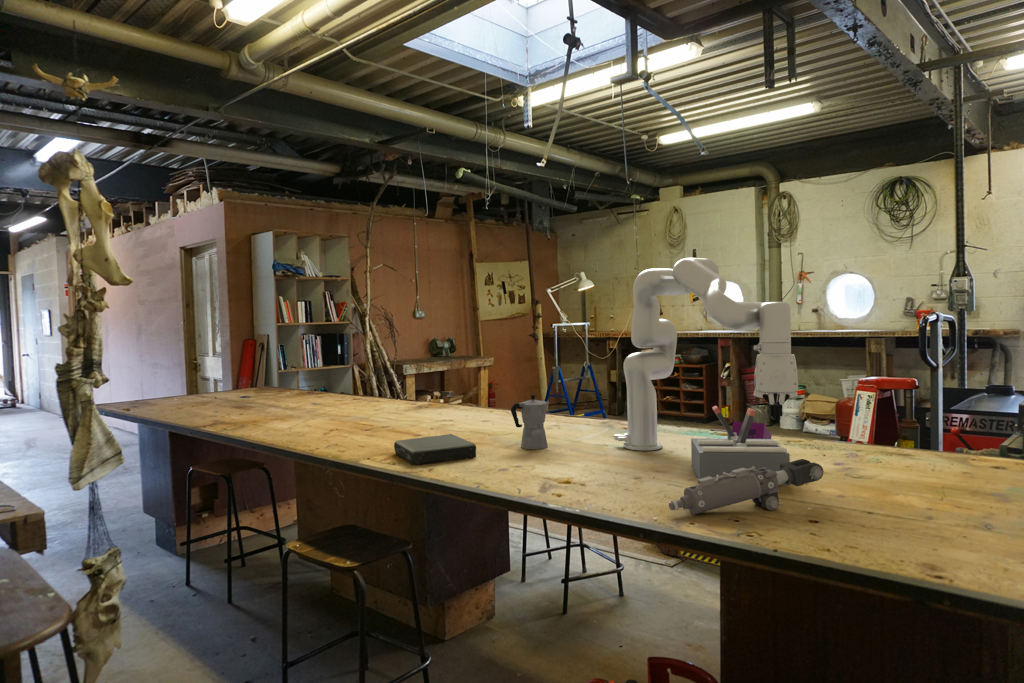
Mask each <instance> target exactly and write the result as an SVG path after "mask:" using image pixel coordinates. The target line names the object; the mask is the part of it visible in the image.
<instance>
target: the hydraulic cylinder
mask: <svg viewBox="0 0 1024 683" xmlns="http://www.w3.org/2000/svg"><path fill="white" fill-rule="evenodd" d="M755 469H756V468H755V467H754V466H752V468H748V469H747V468H746V469H745V468H740V469H736V470H733V471H731V473H729V474H727V473H725V472H723V475H721V476H719V475H716V477H710V476H709V477H706V478H702V479H698V478H697V480H696V483H697V485H693V486H689V487H685V488H684V490H683V496H680V498H679V500H675V499H673V500H671V501H670V502H668V509H669V510H670V511H674V512H675V511H679V509H681V508H682V509H683V510H684V511H685V510H688V511H689V512H690V513H691V514H692V515H698V514H702V513H706V512H708V511H712V510H716V509H720V508H724V507H727V506H728V507H729V506H731V505H734V504H738V503H741V502H742V503H743V502H746V501H749V500H751V501H752V502H753V503H754V504H756V505H757V506H762V508H764V509H765V510H768V511H775V509H777V508H778V507H779V506H783V504H782V503H781V500H780V499H779V493H780V491H781V490H780V487H779V486H781V485H780V484H782V483H784V484H787V485H786V486H789V485H788V484H790V485H793V486H795V487H800V486H805V485H806V484H810V483H813V482H814V483H815V482H817V481H820V480H821V479H822V478H823V476H824V472H825V470H824V468H823V466H822V465H821V464H819V463H817V462H811V461H810V460H808V459H804V458H800V459H796V460H793V461H790V462H788V463H783V464H780V470H779V471H774V472H773V471H772V470H767V469H766V467H764V468H760V469H757V470H755ZM752 470H753V471H752ZM722 478H723V479H722ZM718 479H719V480H718Z"/></svg>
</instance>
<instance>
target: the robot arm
mask: <svg viewBox="0 0 1024 683" xmlns="http://www.w3.org/2000/svg"><path fill="white" fill-rule="evenodd" d="M632 289H633V290H632V291H633V292H632V294H633V295H632V296H633V310H632V311H633V312H632V322H631V331H630V332H631V334H630V335H631V336H630V338H631V339H630V340H631V343H632V345H633V346H634V347H636V348H638V349H652V351H651V350H649V351H637V352H632V353H630V354H628V356H626V357H625V359H624V361H623V374H624V378H625V384H626V400H627V401H626V402H627V403H626V404H627V408H626V410H627V431H626V433H623V434H614V441H617V442H623V441H624V442H623V447H624V448H625V449H628V450H632V451H645V452H646V451H647V452H648V451H655V450H656V451H657V450H659V449H662V448H663V443H662V442H661V441H658V412H657V411H658V410H657V408H658V406H657V404H658V403H657V401H658V400H657V391H656V389H655V386H654V384H653V382H652V380H654V381H655V380H662V379H667V378H668V377H670V376H671V375H672V373H673V370H674V367H675V360H676V351H677V342H678V332H677V328H676V326H675V324H674V323H673V322H672V321H671V320H669V319H665V318H660V317H661V316H660V314H661V305H660V304H661V303H660V302H659V299H658V297H657V296H682V295H684V296H685V295H688V294H690V293H691V294H693V295H694V296H695V297H697V298H698V299H700V300H701V301H702V302H703V306H704V309H705V311H706V312H707V315H709V316H710V317H711V318H712V319H713V320H714V321H716V322H717V323H718V324H720V325H721V326H722V327H724V328H725V329H728V330H731V331H746V330H747V331H752V330H759V342H758V344H754V345H753V350H754V351H758V353H759V354H757V355H756V359H755V366H754V375H753V376H754V377H753V378H754V379H753V380H754V381H753V387H754V390H753V396H754V397H756V398H760V399H763V400H765V402H767V404H768V415H769V416H768V417H770V418H771V420H772V421H780V420H781V417H783V405H784V404H785V403H786V401H788V400H789V399H790V398H791V399H792V398H796V397H798V396H799V395H798V390H799V375H798V367H797V361H796V356H795V354H792V338H791V337H792V333H791V332H792V331H791V330H792V328H791V327H792V325H791V323H792V321H791V320H792V318H791V317H792V314H791V312H792V311H791V305H790V304H789V302H787V301H768V302H762V301H735V300H733V299H732V298H730V297H729V296H727V295H726V294H725V292H726V291H727V280H726V279H725V278H724V277H722V276H721V275H720V270H719V266H718V265H717V263H716V262H715V261H713V259H710V258H705V257H685V258H681V259H680V260H678V261H677V262H676V263H675V264H674V265H673V267H672V268H663V267H661V268H660V267H659V268H658V267H657V268H655V267H654V268H648V269H644V270H643V271H641V272H640V273H639V274H638V275H637V276H636V278H635V280H634V282H633V286H632ZM774 394H777V396H776V401H775V397H774Z"/></svg>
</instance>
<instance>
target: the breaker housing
mask: <svg viewBox="0 0 1024 683" xmlns="http://www.w3.org/2000/svg"><path fill="white" fill-rule="evenodd" d="M711 408H712V411H713V412H714V413H715V415H716V417H717V419H718V420H719V422H720V423H721V425H722V426H723V428H724V430H725V431H726V433H727V438H702V437H700V438H699V437H698V438H694V437H693V438H690V441H691V442H690V443H691V444H690V445H691V447H690V448H691V450H690V452H691V468H692V469H693V471H694V472H693V473H694V474H695V476H696V478H697V480H698V479H702V478H706V477H709V476H710V477H716V475H719V476H721V475H723V472H725V473H727V474H729V473H731V471H733V470H736V469H740V468H745V469H746V468H747V469H748V468H752V466H754V467H755V468H756V469H755V470H757V469H760V468H764V467H766V469H767V470H772V471H773V472H774V471H779V470H780V464H783V463H788V462H791V461H790V460H791V459H790V452H788V448H787V447H782V446H781V445H780V444H779V441H778V440H775V439H773V438H771V439H746V442H745V443H737V445H736V442H737V439H738V436H737V433H733V431H732V428H731V426H730V425H729V423H728V422H727V420H726V418H725V417H724V415H723V414H722V412H721V410H720V409H719V407H718V406H717V405H714V406H712V407H711ZM752 471H753V470H752ZM722 479H723V478H722ZM718 480H719V479H718ZM790 485H791V484H788V485H787V484H784V483H782V484H780V485H779V486H790Z"/></svg>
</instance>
